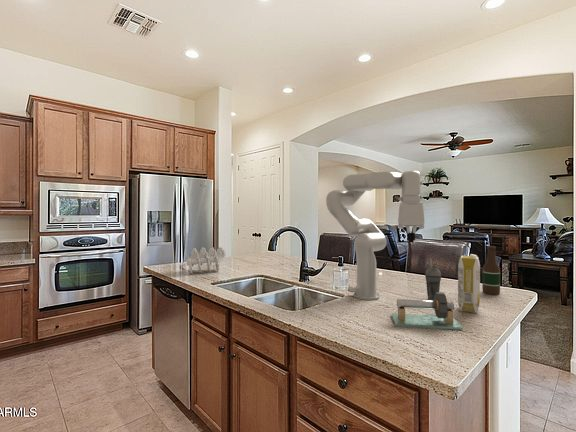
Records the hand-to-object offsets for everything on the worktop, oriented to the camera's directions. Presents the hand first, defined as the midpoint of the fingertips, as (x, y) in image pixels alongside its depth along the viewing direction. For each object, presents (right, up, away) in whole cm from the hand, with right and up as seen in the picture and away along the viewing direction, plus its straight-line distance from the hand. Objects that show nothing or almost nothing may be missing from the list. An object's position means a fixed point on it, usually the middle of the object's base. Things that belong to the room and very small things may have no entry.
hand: (410, 242), depth 139 cm
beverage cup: (+16, -29, +14) cm, 36 cm away
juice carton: (+24, -29, -2) cm, 38 cm away
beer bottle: (+51, -28, +25) cm, 63 cm away
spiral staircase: (-111, -28, +84) cm, 142 cm away
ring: (+5, -27, -17) cm, 32 cm away
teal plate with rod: (-1, -30, -16) cm, 34 cm away
